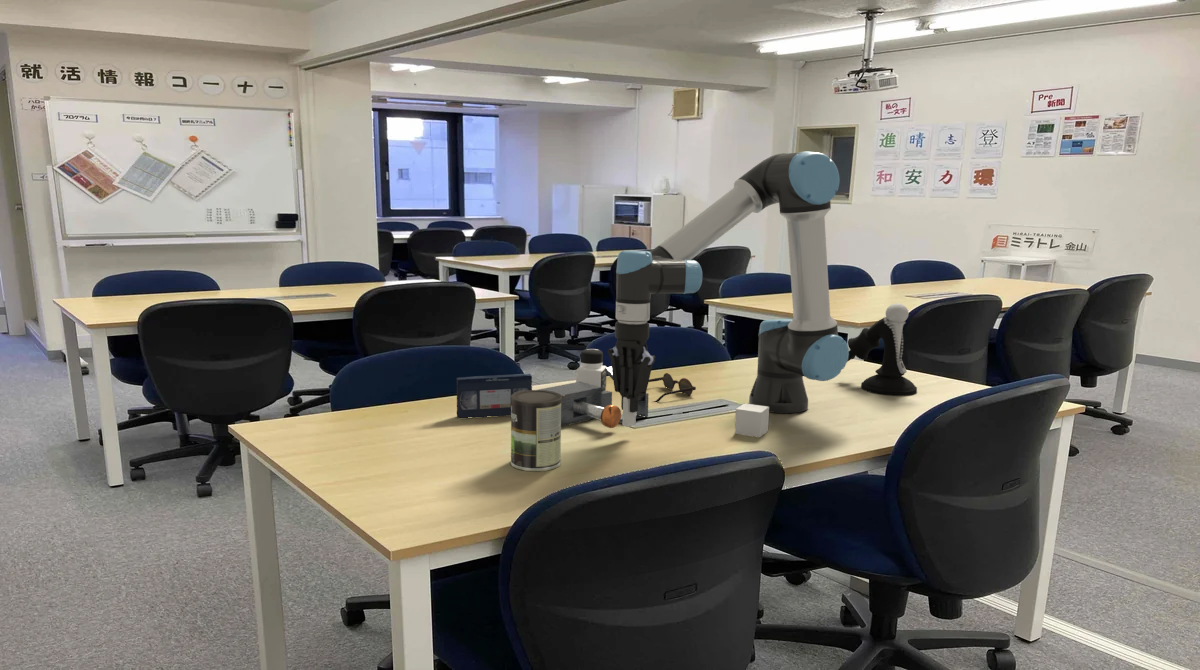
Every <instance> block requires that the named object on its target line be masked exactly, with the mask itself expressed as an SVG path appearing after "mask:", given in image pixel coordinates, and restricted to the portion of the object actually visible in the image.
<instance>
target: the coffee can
mask: <svg viewBox="0 0 1200 670" xmlns="http://www.w3.org/2000/svg"><path fill="white" fill-rule="evenodd" d="M510 400H511V416H510V465H511V467H513V468H515V469H516V470H519V471H520V470H521V471H525V472H547V471H551V470H554V469H556V468H559V466H560V465H561V464H562V460H561V452H562V451H561V450H562V449H561V447H562V445H561V444H562V442H561V441H562V426H561V401H562V395H560V394H559V393H556V392H552V391H546V390H538V389H532V390H527V391H520V392H517V393H514V394H512V395H511V397H510Z"/></svg>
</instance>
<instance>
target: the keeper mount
mask: <svg viewBox="0 0 1200 670" xmlns="http://www.w3.org/2000/svg"><path fill="white" fill-rule="evenodd" d="M643 397H644V399H643V401H640V402H638V411H637V412H636V414H637V415H641V416H645V417H646V416H648V417H649V393H648V392H646V395H645V396H643ZM607 405H613V392H612V391H610V390H606V391H602V392H601V407H602V408H605V407H606V406H607ZM637 415H636V416H637Z"/></svg>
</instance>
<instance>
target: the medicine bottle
mask: <svg viewBox="0 0 1200 670" xmlns="http://www.w3.org/2000/svg"><path fill="white" fill-rule="evenodd" d="M603 357H604V353H603V351H602V350H600V349H598V348H597V349H596V348H587V349H583V350H581V351H580V365H579V367H578V368H577V369H576V370H575V372H576V373H575V382H583V383H587V384H591V385H595V386H598V387H602V391H607V373H606V372H605V371H604V370H605V368H606V367H607V366H606V365H603V364H604V361H603V359H604V358H603Z"/></svg>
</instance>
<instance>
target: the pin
mask: <svg viewBox="0 0 1200 670" xmlns="http://www.w3.org/2000/svg"><path fill="white" fill-rule="evenodd" d="M573 411H574V412H577V413H581V414H584V415H587V416H590V417H594V418H595V419H597V420H600V422H601V424H602V426H603V427H606V428H609V429H614V428H615V427H617V426H619V423H620V421H621V418H622V411H621V409H620V408H619V406H617V405H614V404H612V405H607V406H606V407H605V408H602V407H599V406H595V405H592V404H589V403H585V402H582V401H578V400H573Z"/></svg>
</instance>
